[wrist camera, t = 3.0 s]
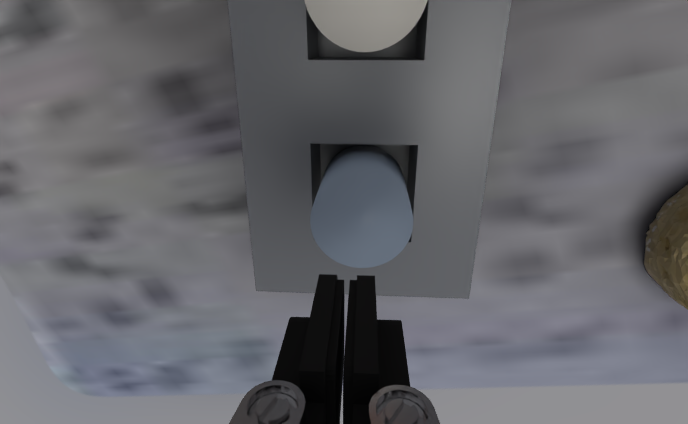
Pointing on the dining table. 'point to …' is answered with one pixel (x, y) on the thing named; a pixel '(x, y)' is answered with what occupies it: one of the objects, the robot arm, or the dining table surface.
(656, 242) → the rock
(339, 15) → the white rounded oval piece
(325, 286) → the robot arm
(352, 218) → the light blue rounded cylinder
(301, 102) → the grey rectangular block
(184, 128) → the dining table surface
